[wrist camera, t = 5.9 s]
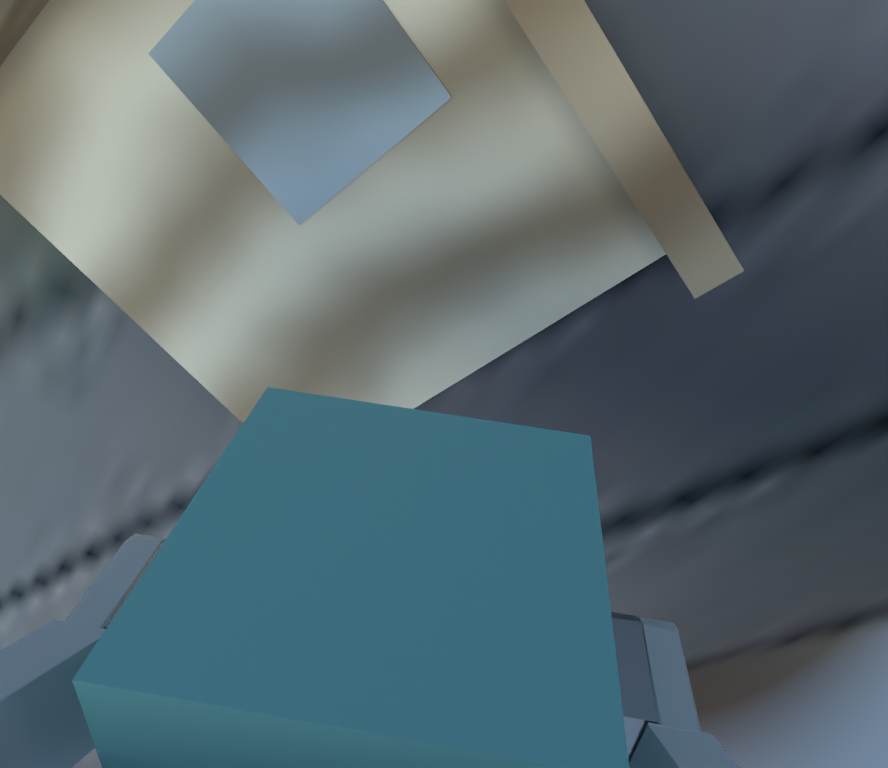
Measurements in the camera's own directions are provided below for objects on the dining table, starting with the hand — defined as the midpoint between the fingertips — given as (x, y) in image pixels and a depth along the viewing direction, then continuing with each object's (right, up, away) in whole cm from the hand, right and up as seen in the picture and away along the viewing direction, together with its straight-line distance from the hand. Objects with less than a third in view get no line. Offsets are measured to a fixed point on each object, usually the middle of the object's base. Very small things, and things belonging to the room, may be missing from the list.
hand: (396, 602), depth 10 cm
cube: (0, +1, +1) cm, 2 cm away
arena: (-4, +11, +13) cm, 18 cm away
